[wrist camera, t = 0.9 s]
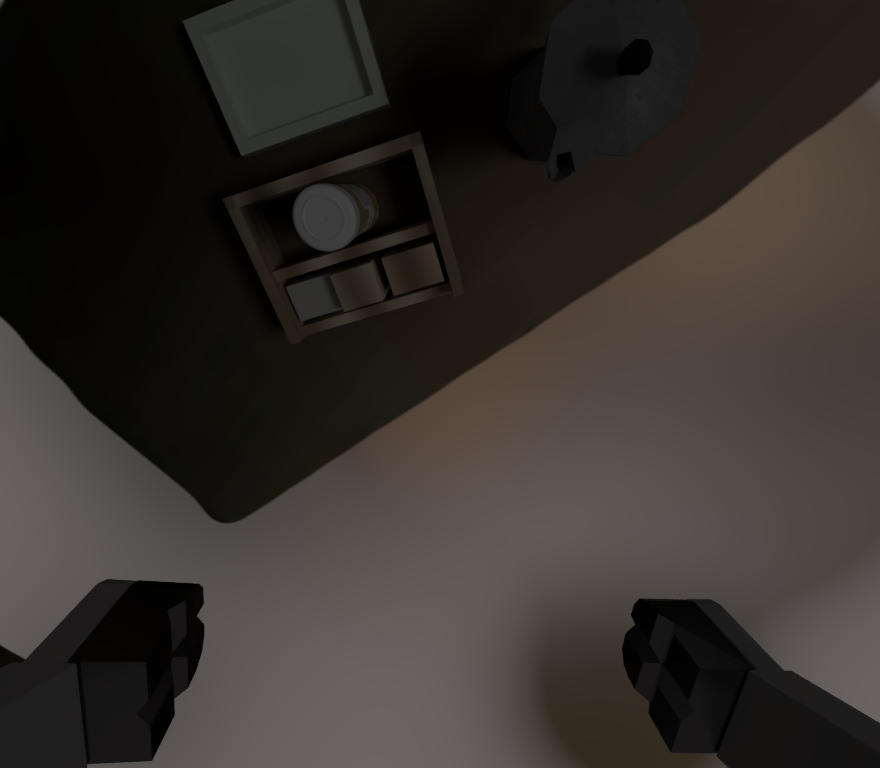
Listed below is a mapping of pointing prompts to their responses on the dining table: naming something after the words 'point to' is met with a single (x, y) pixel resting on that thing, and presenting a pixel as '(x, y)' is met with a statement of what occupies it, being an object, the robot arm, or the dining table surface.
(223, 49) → the tray
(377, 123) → the dining table surface
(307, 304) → the offcut grey
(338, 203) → the sprinkles bottle
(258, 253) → the rack
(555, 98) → the coffeepot
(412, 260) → the offcut oak
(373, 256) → the offcut pine
